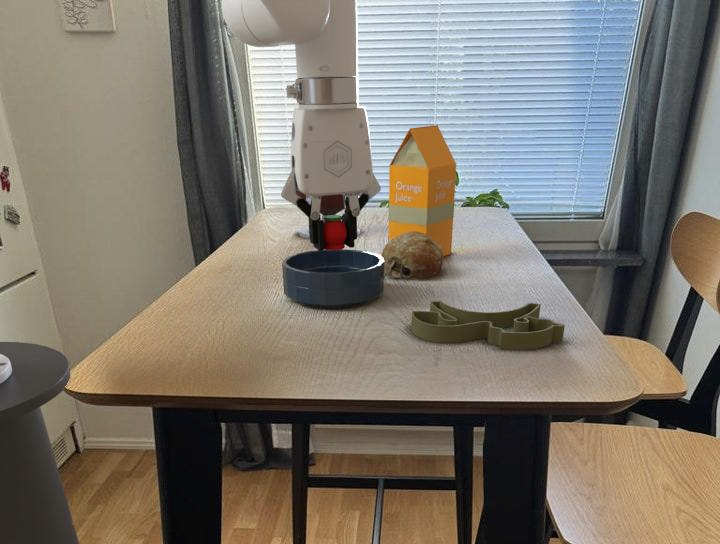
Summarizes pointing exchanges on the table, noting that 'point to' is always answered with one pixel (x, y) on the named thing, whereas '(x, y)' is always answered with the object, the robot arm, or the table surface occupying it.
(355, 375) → the table surface
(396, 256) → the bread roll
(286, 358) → the table surface
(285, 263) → the bowl
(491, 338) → the cookie cutter
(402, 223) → the orange juice
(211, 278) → the table surface
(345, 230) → the red green jar
